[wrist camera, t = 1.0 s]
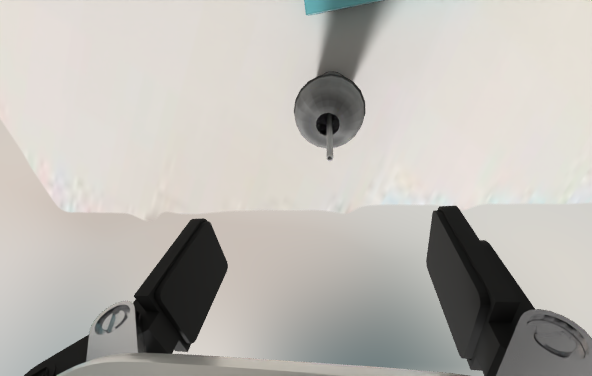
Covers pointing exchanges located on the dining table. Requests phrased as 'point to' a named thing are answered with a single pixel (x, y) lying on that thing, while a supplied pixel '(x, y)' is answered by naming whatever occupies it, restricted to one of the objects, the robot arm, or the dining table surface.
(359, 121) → the beverage cup
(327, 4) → the tray
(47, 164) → the dining table surface
